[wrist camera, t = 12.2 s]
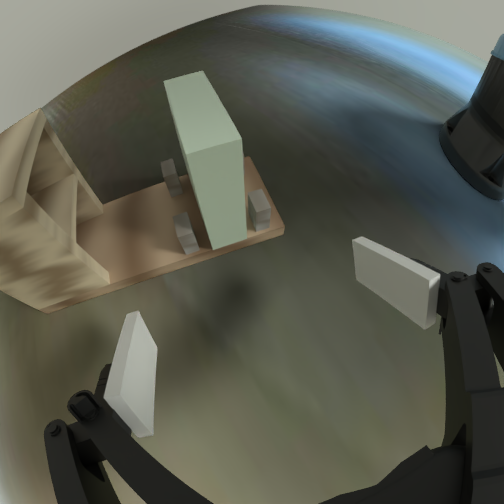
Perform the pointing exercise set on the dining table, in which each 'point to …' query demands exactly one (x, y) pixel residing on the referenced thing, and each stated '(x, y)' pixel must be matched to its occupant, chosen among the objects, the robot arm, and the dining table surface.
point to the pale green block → (210, 156)
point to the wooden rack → (99, 223)
